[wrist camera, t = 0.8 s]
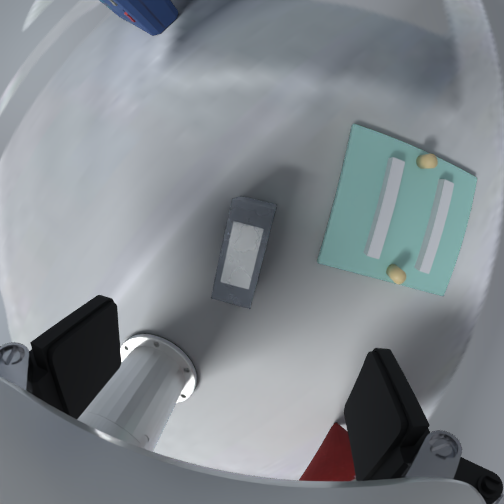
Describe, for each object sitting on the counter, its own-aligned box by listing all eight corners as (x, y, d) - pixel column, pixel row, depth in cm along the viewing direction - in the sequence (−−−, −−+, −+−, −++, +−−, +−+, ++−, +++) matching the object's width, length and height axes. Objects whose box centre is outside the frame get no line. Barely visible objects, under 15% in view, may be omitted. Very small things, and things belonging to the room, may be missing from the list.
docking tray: (439, 293, 31) (452, 303, 28) (316, 260, 32) (320, 269, 28) (473, 177, 27) (488, 178, 24) (351, 125, 28) (359, 118, 24)
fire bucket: (417, 383, 35) (487, 539, 6) (368, 456, 39) (389, 585, 10) (284, 371, 36) (269, 593, 7) (257, 449, 41) (234, 597, 12)
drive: (255, 287, 34) (249, 309, 28) (223, 278, 34) (210, 298, 28) (276, 204, 31) (275, 209, 25) (241, 195, 31) (232, 198, 25)
